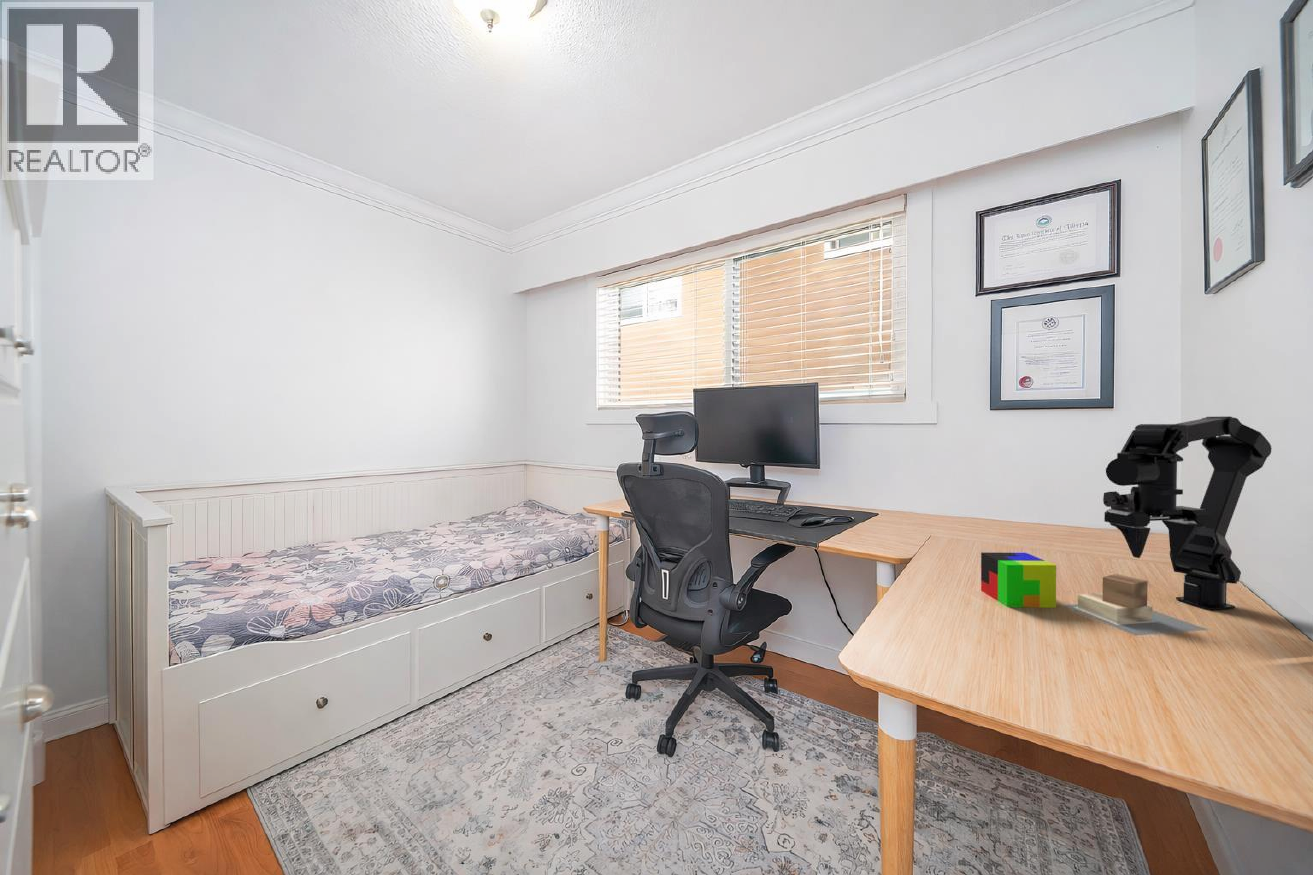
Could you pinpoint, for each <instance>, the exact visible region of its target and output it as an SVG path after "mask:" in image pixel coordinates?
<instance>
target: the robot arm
mask: <svg viewBox="0 0 1313 875" xmlns="http://www.w3.org/2000/svg"><path fill="white" fill-rule="evenodd" d="M1201 440H1202V442H1201V445H1202V447H1204V448H1205V449H1206V450H1207V452H1208V454H1207V458H1208V461H1209V462H1210V465H1211V466H1212V467H1213V471H1212V474H1211V477H1210V479H1209V482H1208V485H1207V487H1206V491H1205V492H1204V496H1203V499H1202V501H1201V503H1200V506H1199V508H1197V507H1191V506H1183V505H1177V497H1178V496H1177V495H1183V494H1184V490H1183V489H1182V488H1181V489H1179V488H1178V487H1177V485H1178V477H1177V476H1178V462H1184V458H1183V457H1182V456H1181V455H1180V454H1178V452H1179V451H1182V450H1183V449H1186V448H1188V447H1189V443H1193V442H1196V441H1201ZM1271 454H1272V445H1271V443H1270V442H1269V441H1268V439H1267V438H1266V436H1264V435H1263V433H1261V432H1260V431H1259V430H1256V429H1254V428H1252V427H1249V426H1248V425H1245V424H1243V423H1242V422H1241V421H1240V419H1238V418H1237V417H1233V416H1206V417H1202V418H1198V419H1195V420H1190V421H1188V420H1187V421H1184V422H1178V423H1168V424H1167V423H1147V424H1146V423H1140V424H1138V425H1136V426H1135V427H1134V429H1133V430H1132V431H1131V433H1130V435H1129V436H1128V438H1127V440H1126V442H1125V444H1124V445H1123V447H1122V449H1121V451H1120V452H1117V454H1116V458H1114V459H1112V460H1111V461H1109V463H1108V464H1107V466H1106V468H1105V474H1106V476H1107V477H1106V478H1107V479H1108V480H1109V481H1110V482H1111V483H1112V484H1115V485H1116V486H1117V485H1118V486H1120V487H1121V486H1122V487H1125V486H1131V488H1130V493H1126V494H1125V493H1124V494H1123V493H1122V494H1120V493H1119V492H1118V491H1116V490H1115V491H1106V492H1104V493H1103V498H1102V501H1103V502H1102V503H1103V505H1104V506H1105V507H1107V508H1109V507H1110V508H1109V509H1107V510H1105V511H1104V514H1103V516H1104V518H1103V521H1104V522H1106V523H1109V525H1110V526H1112V527H1115V528H1116V529H1117V530H1119V531H1120V532H1121V534H1122V535H1123V537H1124V540H1125V542H1126V543H1127V546H1128V549H1129V550H1130V553H1131V555H1132V557H1133V558H1137V559H1140V558H1141V556H1142V555H1143V552H1144V549H1145V547H1146V543H1147V540H1148V538H1149V534H1150V532H1151V527H1148V525H1149V524H1151V522H1154V521H1161V522H1162V523H1163V524H1164V525H1165V527H1166V528H1167V529H1168V540H1169V541H1168V542H1169V557H1170V562H1171V566H1172V569H1173V570H1172V571H1173V572H1175V573H1180V574H1184V578H1183V580H1184V581H1183V593H1182V594H1183V595H1182V596H1176V597H1175V599H1176V600H1178V601H1180V602H1183V603H1187V604H1189V605H1193V606H1196V607H1198V608H1199V607H1200V608H1202V609H1206V610H1209V611H1212V610H1213V611H1214V610H1215V611H1217V610H1229V609H1236V605H1233V604H1230V603H1227V584H1233V585H1234V584H1235V585H1236V584H1238V583H1239V581H1240V579H1241V575H1242V571H1241V570H1240V568H1239V567H1238V566H1237V565H1236V563H1235V562H1234V560H1232V558H1231V556H1232V553H1233V552H1232V549H1231V547H1230V545H1229V542H1228V541H1227V539H1226V535H1227V533H1228V530H1229V526H1230V524H1231V521H1232V518H1233V516H1234V513H1235V510H1236V508H1237V504H1238V502H1239V500H1240V496H1241V493H1242V491H1243V489H1244V488H1243V487H1244V485H1245V483H1246V480H1247V478H1248V477H1249V476H1250V475H1252V474H1254V473H1255V472H1257V471H1259V470H1261V469H1262V468H1263V466H1264V465H1265V463H1266V460H1267V459H1268V457H1270V455H1271Z"/></svg>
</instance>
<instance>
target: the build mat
mask: <svg viewBox="0 0 1313 875" xmlns="http://www.w3.org/2000/svg"><path fill="white" fill-rule="evenodd" d="M1060 606H1062V607H1064V608H1066V609H1068V610H1071V611H1073V612H1076V613H1079V614H1081V615H1083V616H1087V617H1089V618H1092V619H1093V620H1096V621H1098V622H1100V623H1101V622H1102V623H1103V624H1106V625H1109V626H1111V627H1114V628H1115V629H1119V630H1120V631H1124V632H1126V633H1129V634H1131V635H1134V636H1144V635H1160V634H1169V633H1171V634H1173V633H1183V632H1184V633H1185V632H1186V633H1187V632H1198V631H1209V628H1205V627H1202V626H1199V625H1196V624H1193V623H1191V622H1188V621H1184V620H1183V619H1180V618H1177V617H1174V616H1170V615H1167V614H1164V613H1162V612H1159V611H1156V610H1153V609H1152V621H1144V622H1131V623H1114V622H1112V621H1109V620H1107V619H1104V618H1102V617H1099V616H1097V615H1094V614H1092V613H1089V612H1086V611H1084V610H1081V609H1079V608H1078V603H1076V604H1062V605H1060Z"/></svg>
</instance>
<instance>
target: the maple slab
mask: <svg viewBox="0 0 1313 875" xmlns="http://www.w3.org/2000/svg"><path fill="white" fill-rule="evenodd" d="M1102 595H1103V592H1096V593H1095V592H1094V593H1081V594H1077V604H1078V608H1079V609H1081V610H1084V611H1086V612H1089V613H1092V614H1094V615H1097V616H1099V617H1102V618H1104V619H1107V620H1109V621H1112V622H1114V623H1131V622H1144V621H1152V610H1153V605H1150V604H1147V605H1146V606H1143V607H1139V608H1136V609H1130V608H1127V607H1123V606H1120V605H1116V604H1112V603H1109V602H1105V601H1102Z"/></svg>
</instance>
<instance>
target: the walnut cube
mask: <svg viewBox="0 0 1313 875" xmlns="http://www.w3.org/2000/svg"><path fill="white" fill-rule="evenodd" d="M1148 581H1149V580H1146V579H1141V578H1137V577H1133V576H1128V575H1124V574H1119V573H1115V574H1109V575H1106V576H1102V593H1103V595H1102V601H1105V602H1109V603H1112V604H1116V605H1120V606H1123V607H1127V608H1130V609H1136V608H1139V607H1143V606H1146V605H1148V588H1149V587H1148Z"/></svg>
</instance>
